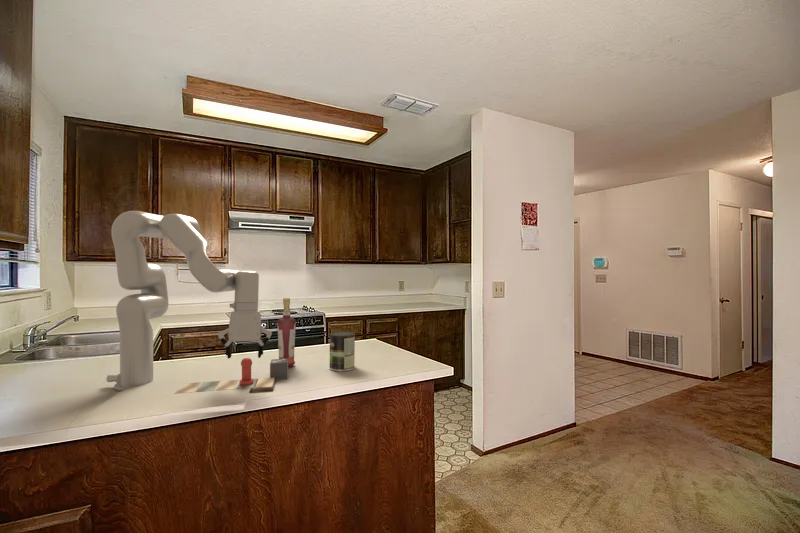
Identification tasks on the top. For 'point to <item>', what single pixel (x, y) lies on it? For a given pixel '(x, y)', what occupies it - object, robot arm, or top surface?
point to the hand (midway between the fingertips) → (244, 357)
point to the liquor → (286, 334)
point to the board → (229, 386)
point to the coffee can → (342, 351)
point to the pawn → (246, 372)
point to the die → (279, 368)
